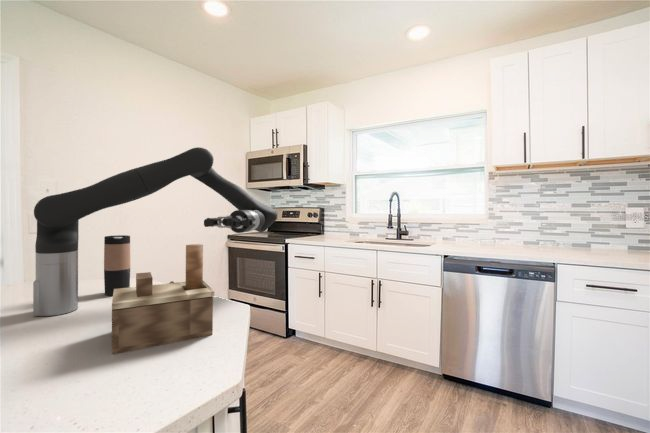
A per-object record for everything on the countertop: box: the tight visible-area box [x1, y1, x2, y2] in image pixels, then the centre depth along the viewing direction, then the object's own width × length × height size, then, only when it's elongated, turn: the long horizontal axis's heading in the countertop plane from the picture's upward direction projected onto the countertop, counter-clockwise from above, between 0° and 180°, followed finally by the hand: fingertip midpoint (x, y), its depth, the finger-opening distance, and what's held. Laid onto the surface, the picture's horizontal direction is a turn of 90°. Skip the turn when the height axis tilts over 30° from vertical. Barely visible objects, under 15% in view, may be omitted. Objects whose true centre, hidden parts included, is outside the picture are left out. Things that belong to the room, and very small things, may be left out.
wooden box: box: [111, 296, 214, 355], centre depth 75 cm, size 20×14×9 cm
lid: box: [111, 271, 215, 311], centre depth 74 cm, size 20×14×5 cm, turn 123°
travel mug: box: [103, 234, 131, 297], centre depth 108 cm, size 8×8×20 cm
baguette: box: [185, 243, 204, 290], centre depth 78 cm, size 4×4×12 cm
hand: (218, 223), depth 89 cm, fingers open, 8 cm apart
